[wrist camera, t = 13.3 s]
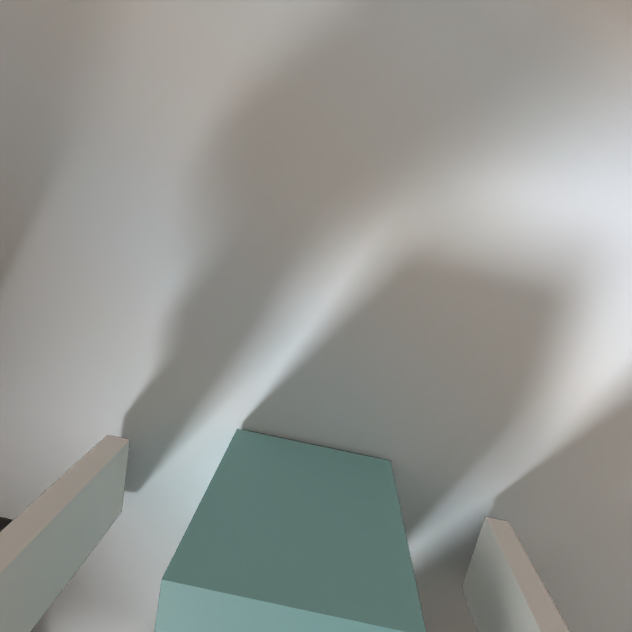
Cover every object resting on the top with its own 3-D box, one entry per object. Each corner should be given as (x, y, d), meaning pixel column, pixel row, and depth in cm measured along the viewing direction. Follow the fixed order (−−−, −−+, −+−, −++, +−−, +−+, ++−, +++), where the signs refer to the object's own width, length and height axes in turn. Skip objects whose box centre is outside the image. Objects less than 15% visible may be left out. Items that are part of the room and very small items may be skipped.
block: (356, 589, 15) (367, 826, 9) (214, 559, 15) (134, 775, 9) (390, 460, 14) (427, 636, 8) (237, 429, 14) (161, 579, 8)
